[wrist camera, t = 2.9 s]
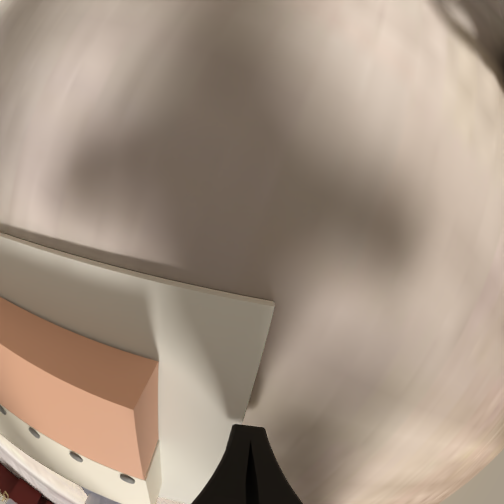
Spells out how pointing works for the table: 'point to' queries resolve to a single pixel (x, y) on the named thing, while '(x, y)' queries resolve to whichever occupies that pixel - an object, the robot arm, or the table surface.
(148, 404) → the stub
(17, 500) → the toy houses
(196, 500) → the robot arm
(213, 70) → the table surface
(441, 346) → the table surface
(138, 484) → the ticket book
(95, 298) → the mat
